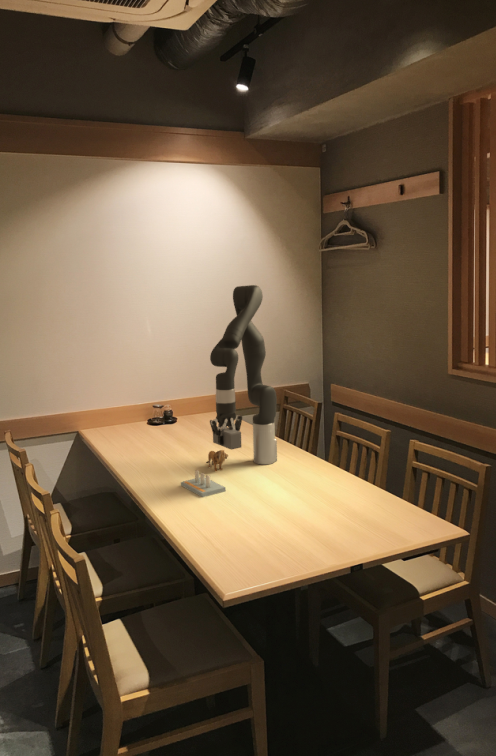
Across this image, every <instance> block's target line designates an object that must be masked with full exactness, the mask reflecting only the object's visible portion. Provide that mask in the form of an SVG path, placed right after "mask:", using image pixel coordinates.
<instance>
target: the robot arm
mask: <svg viewBox="0 0 496 756" xmlns="http://www.w3.org/2000/svg"><path fill="white" fill-rule="evenodd" d="M263 297H264V296H263V291H262V289H261V287H260V286H259V285H256V284H255V285H254V284H251V285H250V284H249V285H239V286H236V287H234V289H233V290H232V301H233V302H232V303H233V306H234V309H235V310H234V311H235V315H236V316H235V317H234V318H233V319H232V320H231V321H230V322H229V323H228V325H227V326H226V328H225V331H224V333H223V335H222V337H221V339H220V340H219V341H218V342H217V344H216V345H215V346H214V347H213V349H212V350H211V352H210V355H209V357H210V358H209V359H210V363H211V364H212V365H213V366H215V367H217V368H218V367H219V368H220V367H222V368H226V369H225V372H220V373H217V374H216V376H215V413H216V417H215V418H214V419H210V420H209V425H210V428H211V430H212V435H213V434H215V435H218V443H219V445H218V446H221V445H224V441H223V431H224V430H225V427H228V428H231V429H234V430H237V431H240V432H241V426H242V421H243V416H242V415H239V414H236V413H237V412H236V411H237V405H236V402H237V401H236V390H235V376H236V370H237V367H238V363H239V354H238V351H237V350H236V349H238V348H239V346H240V344H241V345H242V346H241V347H242V352H243V358H244V366H245V372H246V383H247V384H246V385H247V387H246V388H247V396H248V397H247V398H248V401H249V402H250V403H251V405H253V406H257V407H259V409H258V410H259V411H258V413H257V414H254V415H253V416H252V444H253V445H252V446H253V448H252V449H253V450H252V451H253V463H254V464H257V465H270V464H274V463H275V462H277V461H278V445H277V444H278V440H277V439H276V435H275V434H276V433H275V432H276V431H275V429H276V428H275V419H276V415H277V400H278V399H277V391H276V390H275V388H274V387H273V386H271V385H265V384H263V380H262V367H263V365H264V362H265V359H266V346H265V339H264V337H263V335H262V333H261V332H260V330H259V329H258V328H257V327H256V325H255V324H254V323H253V321H252V320H253V318H254V316H255V315H256V313H257V312H258V310H259V308H260V307H261V305H262V302H263ZM221 426H222V427H221ZM217 427H218V428H217Z"/></svg>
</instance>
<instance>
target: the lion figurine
mask: <svg viewBox="0 0 496 756" xmlns="http://www.w3.org/2000/svg"><path fill="white" fill-rule="evenodd" d="M228 457H229V454H227V453H226V452H225V450H224V449H220V450H217V451H214V450H210V451H209V452H208V456H207V458H208V460H207V461H206V462H205V463H206V464H208V465H207V468H211V467H212V466H211V465H213V466H214V472H218V469H219V470H220V471H223V468H222V464H223V463H225V461H226V460H227V459H228Z"/></svg>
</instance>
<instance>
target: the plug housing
mask: <svg viewBox="0 0 496 756" xmlns="http://www.w3.org/2000/svg"><path fill="white" fill-rule="evenodd" d="M221 427H222V426H221ZM217 428H218V426H217ZM223 441H224V445H219V443H218V435H215V434H213V433H212V443H213V444H216V445H218V446H221V447H224V448H226V449H229V450H236V449H240V448H241V449H242V432H241V430H240V431H237V430H234V429H231V428H229V427H228V426H227V427H225V430H224V431H223Z"/></svg>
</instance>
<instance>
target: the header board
mask: <svg viewBox="0 0 496 756" xmlns="http://www.w3.org/2000/svg"><path fill="white" fill-rule="evenodd" d="M180 486H181V487H183V488H185V489H187V490H189V491H190V492H192V493H194V494H196V495H198V496H199V497H202V498H204V497H208V496H212V495H215V494H219V493H224V492H226V487H225V486H223V485H221V484H220V483H217V482H216V481H213V480H211V475H205V472H200V470H199V469H196V470H194V478H192V479H187V480H183V481H180Z"/></svg>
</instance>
